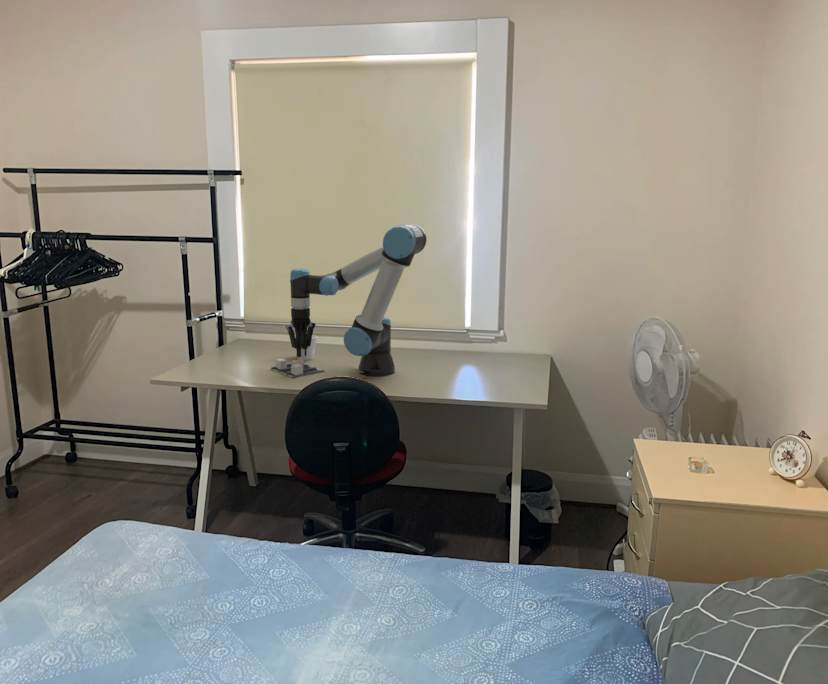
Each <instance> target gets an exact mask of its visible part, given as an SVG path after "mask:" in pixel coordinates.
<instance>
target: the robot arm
mask: <svg viewBox="0 0 828 684" xmlns="http://www.w3.org/2000/svg"><path fill="white" fill-rule="evenodd" d="M427 241H428V240H427V234H426V232H425V229H424V228H422V227H421V226H419V225H417V224H414V223H410V224H398V225H395V226H393V227H391V228H389V229H388V230H387V231H386V233H385V234H384V235H383V238H382V246H380V247H378V248H376V249H375V250H372V251H370V252H368V253H367V254H365V255H363V256H361V257H360V258H358V259H356V260H354V261H352V262H350V263H349V264H347V265H345V266H342V267H341V268H339V269H338V270H336V271H334V272H331V273H328V274H323V275H322V274H321V275H313V274H310V270H309V269H307V268H296V269H292V270H291V271H290V276H289V277H290V278H289V282H290V307H291V309H290V313H291V315H290V317H291V319H290V320H291V321H290V324H289V325H286V326H285V329H286V330H287V333H288V337H289V340H290V344H291V348H294V349H296V350H295V351H296V357H297V360H300V361H303V365H305V364H306V360H305V356H306V349H307V348H308V346H310V345H311V340H312V335H314V334H313V333H314V329H315V328H316V326H317V325H316V323H315V322H313V321H311V318H310V317H311V308H310V307H311V297H310V295H320V296H325V297H326V296H335V295H336V294H337V292H338V291H343V290H344V289H346V288H347V287H349V286H350V285H352V284H354V283H356V282H358V281H359V280H361V279H363V278H365V277H367V276H369V275H370V274H372V273H374V272H376V271H378V272H377V274H376V277H375V278H374V279H375V280H374V282H373V285H372V286H371V288H370V292H369V293H368V296H367V299H366V301H365V304H364V306H363V308H362V311H361V314H359V315H356V316H355V317H354V320H353V323H352V325H351V327H350V328H348V329H347V330H346V331H345V332H344V335H343V344H344V346H345V349H346V350H347V351H348V352H349V353H350V354H351V355H353V356H356V357H361V358H360V361H359V365H358V371H361V372H360V374H361V375H365V376H371V377H374V376H375V377H376V376H377V377H378V376H379V377H380V376H389V375H391V374H394V373H395V372H396V367H395V366H396V365H395V363H394V362H395V361H394V360H393V356H392V353H391V351H392V350H391V348H392V347H391V343H392V336H391V333H392V329H391V328H392V325H391V320H390V318H388V317H385V315H386V313H387V310H388V308H389V306H390V303H391V301H392V299H393V296H394V294H395V291H396V290H397V287H398V284H399V282H400V279H401V277H402V275H403V273H404V270H405V269H407V268H408V267H410V266H411V263H412V261H413V259H414V256H415V255H417V254H419V253H421V252H422V251H423V250H424V248H425V247H426V245H427ZM295 336H296V338H295ZM301 347H302V348H301Z"/></svg>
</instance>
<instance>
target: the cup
mask: <svg viewBox="0 0 828 684" xmlns="http://www.w3.org/2000/svg"><path fill="white" fill-rule="evenodd" d="M295 338H296V335H295ZM317 339H318V336H317V335H316V334H315V335H314V334H312V340H311V345H310V346H308V348H307V349H306V356H305V361H309V360H314V358H315V351H316V345H317ZM301 348H302V347H301Z"/></svg>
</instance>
